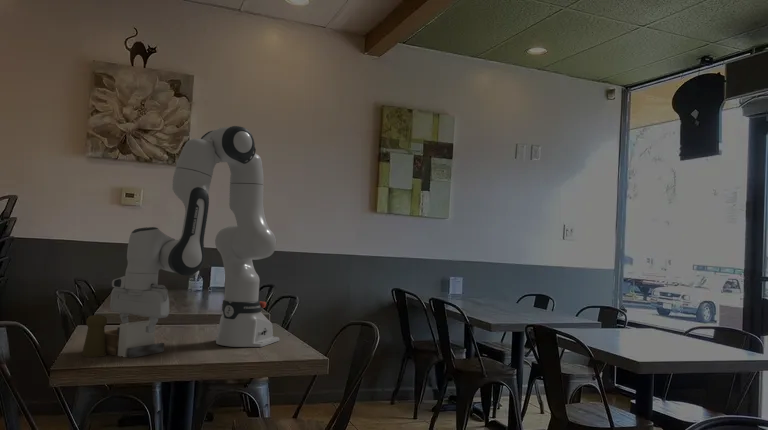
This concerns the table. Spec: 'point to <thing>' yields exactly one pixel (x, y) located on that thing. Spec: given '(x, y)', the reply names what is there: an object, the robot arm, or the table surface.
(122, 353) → the white rectangular block
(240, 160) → the robot arm
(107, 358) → the table surface
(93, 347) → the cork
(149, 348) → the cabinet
